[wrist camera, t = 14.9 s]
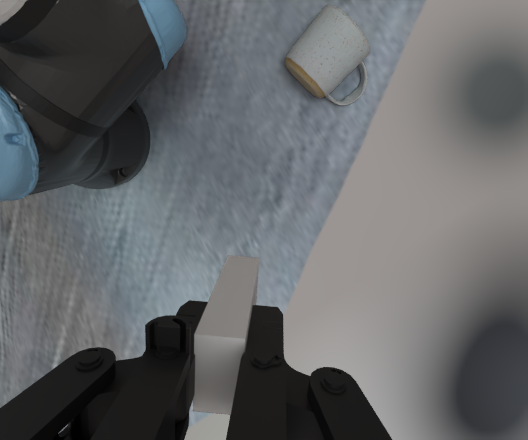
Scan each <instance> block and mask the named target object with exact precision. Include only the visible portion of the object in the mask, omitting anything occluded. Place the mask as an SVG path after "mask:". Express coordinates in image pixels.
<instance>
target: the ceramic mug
mask: <svg viewBox="0 0 528 440" xmlns="http://www.w3.org/2000/svg"><path fill="white" fill-rule="evenodd" d="M369 53H370V47H369V44H368V41H367V39H366V38H365V36H364V34H363V33H362V31H361V30H360V28H359V27H358V26H357V25H356V24H355V22H354V21H353V20H352V19H351V18H350V17H348V16H347V15H346V14H345V13H344V12H343V11H342V10H341V9H339V8H338V7H335V6H333V5H326V6H325V7H324V8H323V9H322V11H321V12H320V13H319V15H318V16H317V17H316V18H315V19H314V21H313V22H312V23H311V24H310V26H309V27H308V28H307V29H306V31H305V32H304V33H303V35H302V36H301V37H300V38H299V39H298V41H297V42H296V43H295V44H294V45H293V47H292V48H291V50H290V51H289V53H288V55H287V56H286V58H285V65H286V67H287V68H288V70H289V71H290V72H291V73H292V75H293V76H294V77H295V78H296V79H297V80H298V81H299V82H300V83H301V84H302V85H303V86H304V87H305V88H306V89H307V90H308V91H309V92H310V93H312V94H313V95H314V96H316V97H317V98H323V97H326V98H327V99H329V100H330V101H332V102H333V103H335V104H338V105H348V104H351V103H353V102H354V101H356V100H357V99H358V98H359V97H360V96H361V95H362V94H363V92H364V91H365V89H366V86H367V80H368V78H367V70H366V67H365V64H364V62H363V60H364V59H365V58H366V57H367V56H368V54H369ZM357 66H359V69H360V73H361V81H360V84H359V86H358V88H357V89H356V90H354V91H353V92H352V93H351V94H350V95H349V96H346V97H345V98H344V100H335V99H334V98H332V97H331V96H330V94H329V93H330V92H332V91H333V90H334V89H335V88H336V87H337V86H338V85H339V84H340V83H341V81H342V80H343V79H344V78H345V77H346V76H347V75H349V74H350V73H351V72H352V71H353V70H354V69H355V68H356V67H357Z"/></svg>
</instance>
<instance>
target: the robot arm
mask: <svg viewBox="0 0 528 440" xmlns="http://www.w3.org/2000/svg"><path fill="white" fill-rule="evenodd" d="M186 31H187V28H186V23H185V20H184V17H183V15H182V13H181V11H180V9H179V7H178V6H177V4H176V2H175V1H174V0H0V201H5V200H10V201H12V200H18V199H22V198H23V197H26V196H27V195H31V194H35V193H39V192H43V191H47V190H51V189H55V188H59V187H63V186H67V185H71V184H74V185H78V186H82V187H85V188H91V189H106V188H111V187H114V186H117V185H120V184H123V183H125V182H127V181H129V180H130V179H132V178H133V177H134V176H135V175H136V174H137V173H138V172H139V171H140V170H141V168H142V167H143V165H144V163H145V161H146V159H147V156H148V153H149V148H150V132H149V127H148V123H147V120H146V118H145V115H144V113H143V111H142V109H141V108H140V106H139V105H138V103H137V102H136V101H135V99H136V98H137V97H138V95H139V94H140V93H141V92H142V91H143V90H144V89H145V88H146V86H147V85H148V84H149V83H150V82H151V81H152V80H153V78H154V77H155V76H156V75H157V74H158V73H159V72H160V71H161V69H162V70H165V69H166V68H167V66H168V62H169V61H170V59H171V58H172V57H173V56H174V54H175V53H176V52H177V51H178V50H179V48H180V47H181V46H182V45H183V43H184V41H185V39H186ZM258 269H259V258H253V257H241V256H229V255H228V257H227V259H226V262H225V264H224V266H223V269H222V271H221V273H220V276H219V278H218V280H217V283H216V285H215V287H214V290H213V292H212V294H211V297H210V299H209V301H208V302H201V301H188V302H187V303H185V304H184V305H182V306H181V307H180V309H179V310H178V312H177V314H176V315H175V316H162V317H157V318H155V319H153V320H151V321H150V322H148V323H147V324H146V325H145V333H146V350H145V352H144V354H143V355H142V356H141V357H138V358H133V359H126V360H118V361H116V357H115V354H114V353H113V351H111V350H109V349H107V348H100V347H97V348H89V349H86V350H82V351H79V352H78V353H76V354H74V355H72V356H71V357H69V358H68V359H66V360H65V361H64V362H62V363H61V364H60V365H58V366H57V367H56V368H54V369H53V370H52V371H50V372H49V373H47V374H46V375H45V376H43V377H42V378H41V379H39V380H38V381H37V382H35V383H34V384H32V385H31V386H30V387H28V388H27V389H26V390H24V391H23V392H22V393H20V394H19V395H18V396H16V397H15V398H13V399H12V400H11V401H9V402H8V403H7V404H5V405H4V406H3V407H1V408H0V440H184V438H185V435H186V432H187V429H188V426H189V409H190V406H191V403H192V400H193V411H197V412H207V413H217V414H218V413H219V414H228V415H230V421H229V427H228V432H227V438H226V440H392V439H391V437H390V435H389V434H388V432H387V431H386V429H385V427H384V426H383V424H382V423H381V421H380V419H379V418H378V416H377V415H376V413H375V411H374V410H373V408H372V406H371V405H370V403H369V402H368V400H367V398H366V397H365V395H364V394H363V392H362V391H361V389H360V387H359V386H358V384H357V383H356V381H355V380H354V379H353V378H352V377H351V375H349V374H347V373H346V372H344V371H343V370H339V369H336V368H332V367H323V368H319V369H317V370H315V371H314V372H312V374H311V376H308V375H305V374H303V373H300V372H298V371H296V370H294V369H293V368H291V367H290V366H289V365H288V364H287V363H286V361H285V359H284V353H283V352H284V350H283V314H282V312H281V311H280V310H279V308H278V307H270V306H258V305H256V298H257V284H258ZM67 424H68V426H67V427H66V428H65V429H64V430H63V431H62V432H60V431H61V430H62V429H63V428H64V427H65V426H66V425H67ZM59 432H60V433H59ZM58 433H59V434H58Z"/></svg>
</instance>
